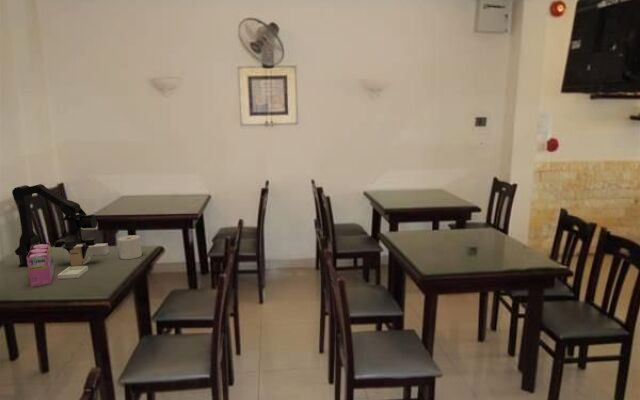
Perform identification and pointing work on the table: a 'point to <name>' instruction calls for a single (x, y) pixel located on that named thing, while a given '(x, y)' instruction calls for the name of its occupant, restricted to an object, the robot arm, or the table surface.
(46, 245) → the gum box
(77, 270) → the tray
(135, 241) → the toilet tissue
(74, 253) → the tan cuboid block
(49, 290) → the table surface
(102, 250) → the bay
